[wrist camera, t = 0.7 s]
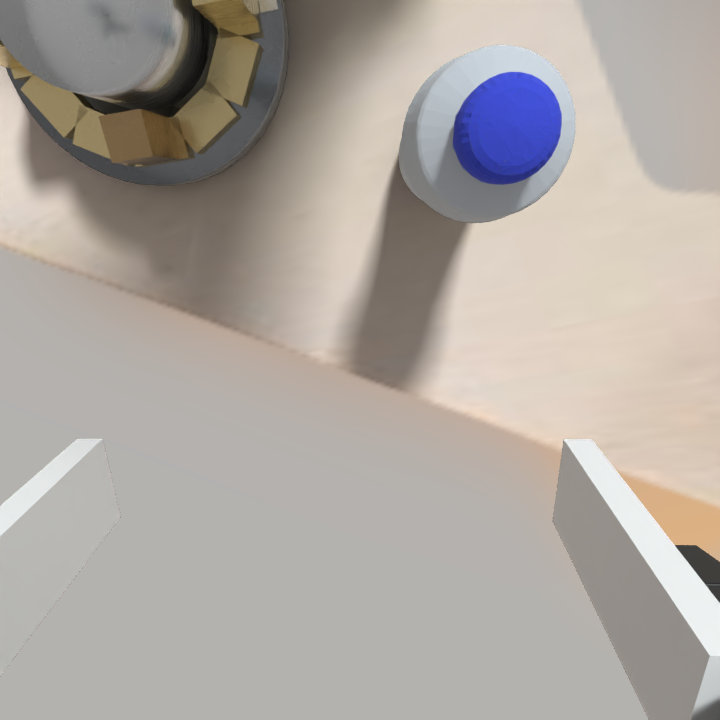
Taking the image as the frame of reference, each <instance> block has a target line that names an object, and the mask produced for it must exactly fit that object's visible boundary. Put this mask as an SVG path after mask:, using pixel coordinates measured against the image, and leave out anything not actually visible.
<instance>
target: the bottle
mask: <svg viewBox="0 0 720 720" xmlns="http://www.w3.org/2000/svg"><path fill="white" fill-rule="evenodd" d="M574 137H575V110H574V105H573V100H572V96H571V94H570V92H569V89H568V87H567V84H566V82H565V81H564V79H563V78H562V76H561V75H560V73H559V72H558V71H557V70H556V68H555V67H554V66H553V65H552V64H551V63H550V62H549V61H547V60H546V59H545V58H543V57H541V56H540V55H538V54H536V53H534V52H533V51H530V50H528V49H526V48H521V47H516V46H511V45H495V46H489V47H483V48H480V49H478V50H475V51H472V52H470V53H467V54H466V55H463V56H461V57H458V58H456V59H454V60H452V61H450V62H448V63H447V64H445V65H443V66H442V67H441V68H439V69H438V70H437V71H435V72H434V73H433V74H432V75H431V76H430V77H429V78H428V79H427V80H426V81H425V82H424V84H423V85H422V86H421V88H420V89H419V91H418V92H417V94H416V95H415V97H414V99H413V101H412V103H411V105H410V107H409V109H408V112H407V115H406V118H405V122H404V127H403V133H402V139H401V142H400V148H399V166H400V171H401V174H402V177H403V179H404V181H405V183H406V184H407V186H408V187H409V189H410V190H411V191H412V192H413V193H414V194H415V195H416V196H417V197H418V198H419V199H421V200H422V201H424V202H425V203H426V204H427V205H428V206H429V207H430V208H432V209H433V210H434V211H436V212H438V213H439V214H441V215H443V216H445V217H447V218H450V219H453V220H456V221H460V222H467V223H483V222H490V221H494V220H497V219H501V218H503V217H505V216H508V215H510V214H513V213H516V212H519V211H521V210H523V209H524V208H526V207H528V206H530V205H531V204H533V203H535V202H536V201H537V200H539V199H540V198H541V197H542V196H543V195H544V194H546V193H547V192H548V191H549V189H550V188H551V187H552V186H553V185H554V184H555V182H556V181H557V180H558V178H559V177H560V175H561V173H562V171H563V170H564V168H565V166H566V164H567V162H568V160H569V158H570V154H571V151H572V147H573V142H574Z"/></svg>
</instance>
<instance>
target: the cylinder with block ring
mask: <svg viewBox="0 0 720 720" xmlns="http://www.w3.org/2000/svg"><path fill="white" fill-rule="evenodd" d="M192 4H193V6H194V7H195V8H196V9H197V10H198V11H199V12H200V13H201V14H202V15H203V16H204V17H205V18H207V19H208V20H209V21H210V22H211V23H212V24H213V25H214V26H215V27H216V28H217V29H218V37H217V41H216V45H215V49H214V53H213V57H212V61H211V65H210V69H209V73H208V77H207V81H206V84H205V85H204V86H203V87H202V88H201V89H200V90H199V91H198V92H197V93H196V94H195V95H194V96H193V97H192V98H191V99H190V100H189V101H188V102H187V103H186V104H185V105H184V106H183V107H182V108H181V109H180V110H179V111H178V113H177V114H176V115H175V116H174V117H170V118H169V117H166V116H163V115H159V114H156V113H153V112H150V111H146V110H143V109H135V110H130V111H124V112H119V113H113V114H106V113H103V112H101V111H98V110H96V109H95V108H94V107H93V106H92V105H91V104H90V103H89V101H88V100H87V99H86V98H85V97H84V96H83V95H82V94H78V93H75V92H71V91H68V90H65V89H62V88H59V87H56V86H53V85H51V84H49V83H47V82H45V81H43V80H41V79H40V78H38V77H37V76H35V75H34V74H32V73H31V72H30V71H28V70H27V69H26V68H25V67H24V66H22V65H21V64H20V63H19V62H18V61H17V60H16V59H15V58H14V57H13V56H12V54H11V53H10V52H9V51H8V49H7V48H6V47H5V46H4V44H3V43H2V41H1V40H0V66H3V67H6V68H10V69H11V71H12V74H13V77H14V79H16V80H20V81H23V82H26V83H25V84H24V85H23V87H22V88H21V91H22V92H23V93H24V94H25V95H26V96H27V97H28V98H29V99H30V101H31V102H32V103H33V104H34V105H35V106H36V107H37V108H38V109H39V111H40V112H41V113H42V114H43V115H44V116H45V117H46V118H47V119H48V121H49V122H50V123H51V124H52V125H53V126H54V127H55V128H56V129H57V131H58V132H59V133H60V134H61V135H62V136H63V137H64V138H69V139H73V144H74V145H77V146H79V147H82V148H84V149H87V150H89V151H91V152H94V153H96V154H99V155H101V156H104V157H106V158H109V159H111V161H112V163H120V164H124V165H126V166H136V167H148V166H154V165H160V164H166V163H171V162H177V161H183V160H189V159H195V156H194V152H193V150H194V151H195V152H196V153H197V154H204V153H205V152H206V151H207V150H208V149H209V148H210V147H211V146H212V145H213V144H214V143H215V142H217V141H218V140H219V139H220V138H221V137H222V136H223V135H224V134H225V133H226V132H227V131H228V130H229V129H230V128H231V127H232V126H233V125H234V124H235V123H236V122H237V121H238V120H239V119H241V118H242V117H241V115H240V114H239V113H238V112H237V110H236V109H235V108H234V106H233V105H232V104H231V103H230V102H232V103H235V104H237V105H240V106H242V107H244V108H247V107H248V103H249V99H250V96H251V92H252V89H253V85H254V82H255V78H256V74H257V71H258V67H259V64H260V60H261V57H262V53H263V48H262V47H261V45H260V44H258V43H256V42H254V41H251V40H253V39H259V38H264V34H263V29H262V24H261V18H260V13H259V7H258V2H257V0H192Z"/></svg>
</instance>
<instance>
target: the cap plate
mask: <svg viewBox="0 0 720 720" xmlns="http://www.w3.org/2000/svg"><path fill="white" fill-rule="evenodd" d="M257 2H258V7H259V13H260V18H261V24H262V29H263V34H264V38H259V39H253V40H251V41H254V42H256V43H258V44H260V45H261V47H262V48H263V53H262V57H261V60H260V64H259V67H258V71H257V74H256V78H255V82H254V85H253V89H252V92H251V96H250V99H249V103H248V107H247V108H244V107H242V106H240V105H237V104H235V103H232V102H230V103H231V104H232V105H233V106H234V108H235V109H236V110H237V112H238V113H239V114H240V115H241V117H242V118H241V119H239V120H238V121H237V122H236V123H235V124H234V125H233V126H232V127H231V128H230V129H229V130H228V131H227V132H226V133H225V134H224V135H223V136H222V137H221V138H220V139H219V140H218V141H217V142H215V143H214V144H213V145H212V146H211V147H210V148H209V149H208V150H207V151H206V152H205V153H204V154H197V153H196V152H195V151H194V150H193V152H194V156H195V159H189V160H183V161H177V162H171V163H166V164H160V165H154V166H148V167H136V166H126V165H124V164H120V163H112V161H111V159H109V158H106V157H104V156H101V155H99V154H96V153H94V152H91V151H89V150H87V149H84V148H82V147H79V146H77V145H74V144H73V139H69V138H64V137H63V136H62V135H61V134H60V133H59V132H58V131H57V129H56V128H55V127H54V126H53V125H52V124H51V123H50V122H49V121H48V119H47V118H46V117H45V116H44V115H43V114H42V113H41V112H40V111H39V109H38V108H37V107H36V106H35V105H34V104H33V103H32V102H31V101H30V99H29V98H28V97H27V96H26V95H25V94H24V93H23V92H22V91H21V88H22V87H23V85H24V84H25V83H26V82H23V81H20V80H16V79H14V77H13V74H12V71H11V69H10V68H6V69H7V72H8V75H9V77H10V79H11V81H12V83H13V85H14V87H15V89H16V90H17V92H18V94H19V96H20V98H21V99H22V101H23V102H24V104H25V105H26V107H27V108H28V110H29V112H30V113H31V114H32V116H33V117H34V118H35V119H36V121H37V122H38V123H39V124H40V126H41V127H42V128H43V129H44V130H45V131H46V132H47V133H48V134H49V135H50V136H51V137H52V138H53V139H54V140H55V141H56V142H57V143H58V144H59V145H60V146H61V147H62V148H64V149H65V150H66V151H67V152H69V153H70V154H71V155H72V156H74V157H75V158H77V159H78V160H80V161H81V162H83V163H85V164H86V165H88V166H89V167H91V168H93V169H95V170H97V171H99V172H102V173H104V174H106V175H108V176H111V177H114V178H117V179H120V180H123V181H127V182H133V183H138V184H146V185H177V184H187V183H192V182H196V181H200V180H204V179H206V178H209V177H211V176H214V175H216V174H218V173H220V172H222V171H223V170H225V169H227V168H229V167H230V166H232V165H233V164H234V163H236V162H237V161H238V160H239V159H241V158H242V157H243V156H244V155H246V153H247V152H248V151H249V150H250V149H251V148H252V147H253V146H254V145H255V144H256V143H257V141H258V140H259V139H260V137H261V136H262V134H263V133H264V131H265V130H266V129H267V127H268V125H269V123H270V121H271V119H272V117H273V115H274V113H275V111H276V109H277V106H278V103H279V101H280V98H281V95H282V92H283V87H284V83H285V79H286V74H287V65H288V56H289V32H288V23H287V15H286V9H285V5H284V0H257ZM217 37H218V29H217V28H216V27H215V26H214V25H213V24H212V23H211V22H210V21H209V20H208V19H207V18H205V17H204V16H203V15H202V14H201V13H200V12H199V11H198V10H197V9H196V8H195V7H194V6H193V4H192V0H0V40H1V41H2V43H3V44H4V46H5V47H6V48H7V49H8V51H9V52H10V53H11V54H12V56H13V57H14V58H15V59H16V60H17V61H18V62H19V63H20V64H21V65H22V66H24V67H25V68H26V69H27V70H28V71H30V72H31V73H32V74H34V75H35V76H37V77H38V78H40V79H41V80H43V81H45V82H47V83H49V84H51V85H53V86H56V87H59V88H62V89H65V90H68V91H71V92H75V93H78V94H82V95H83V96H84V97H85V98H86V99H87V100H88V101H89V103H90V104H91V105H92V106H93V107H94V108H95V109H96V110H98V111H101V112H103V113H106V114H113V113H119V112H124V111H130V110H135V109H143V110H146V111H150V112H153V113H156V114H159V115H163V116H166V117H169V118H170V117H174V116H175V115H176V114H177V113H178V111H179V110H180V109H181V108H182V107H183V106H184V105H185V104H186V103H187V102H188V101H189V100H190V99H191V98H192V97H193V96H194V95H195V94H196V93H197V92H198V91H199V90H200V89H201V88H202V87H203V86H204V85H205V84H206V81H207V77H208V73H209V69H210V65H211V61H212V57H213V53H214V49H215V45H216V41H217Z"/></svg>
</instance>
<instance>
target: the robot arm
mask: <svg viewBox="0 0 720 720" xmlns="http://www.w3.org/2000/svg"><path fill="white" fill-rule="evenodd" d="M120 518H121V516H120V512H119V507H118V503H117V498H116V494H115V490H114V485H113V481H112V477H111V472H110V468H109V464H108V459H107V456H106V451H105V447H104V442H103V439H76V440H75V441H74V442H73V443H71V444H70V445H69V446H68V447H67V448H66V449H65V450H64V451H62V452H61V453H60V454H59V455H58V456H57V457H55V458H54V459H53V460H52V461H51V462H50V463H48V464H47V465H46V466H45V467H44V468H43V469H42V470H41V471H39V472H38V473H37V474H36V475H35V476H34V477H33V478H31V479H30V480H29V481H28V482H27V483H26V484H24V485H23V486H22V487H21V488H20V489H19V490H18V491H16V492H15V493H14V494H13V495H12V496H11V497H10V498H8V499H7V500H6V501H5V502H4V503H3V504H2V505H0V676H1V675H2V673H3V672H4V671H5V669H6V668H7V667H8V665H9V664H10V663H11V661H12V660H13V659H14V657H15V656H16V655H17V653H18V652H19V650H20V649H21V648H22V647H23V645H24V644H25V643H26V642H27V640H28V639H29V637H30V636H31V635H32V634H33V632H34V631H35V630H36V628H37V627H38V626H39V624H40V623H41V622H42V620H43V619H44V618H45V616H46V615H47V614H48V612H49V611H50V610H51V609H52V607H53V606H54V605H55V603H56V602H57V601H58V599H59V598H60V597H61V595H62V594H63V593H64V591H65V590H66V589H67V587H68V586H69V585H70V583H71V582H72V581H73V580H74V578H75V577H76V575H77V574H78V573H79V572H80V570H81V569H82V567H83V566H84V565H85V563H86V562H87V561H88V560H89V558H90V557H91V556H92V554H93V553H94V551H96V549H97V548H98V547H99V545H100V544H101V543H102V541H103V540H104V538H105V537H106V536H107V535H108V533H109V532H110V531H111V529H112V528H113V527H114V525H115V524H116V523H117V521H118V520H119V519H120ZM553 523H554V525H555V527H556V529H557V531H558V533H559V536H560V538H561V540H562V542H563V544H564V546H565V548H566V550H567V552H568V554H569V556H570V558H571V560H572V562H573V564H574V566H575V568H576V571H577V573H578V575H579V577H580V579H581V581H582V583H583V585H584V587H585V589H586V591H587V593H588V595H589V597H590V599H591V601H592V604H593V606H594V608H595V610H596V612H597V614H598V616H599V618H600V620H601V622H602V624H603V626H604V628H605V630H606V632H607V634H608V637H609V639H610V641H611V642H612V645H613V646H614V649H615V651H616V653H617V655H618V657H619V659H620V661H621V663H622V665H623V667H624V669H625V672H626V674H627V675H628V678H629V680H630V682H631V684H632V686H633V688H634V690H635V692H636V694H637V696H638V698H639V700H640V702H641V704H642V706H643V708H644V711H645V712H646V715H647V717H648V719H649V720H720V562H719V561H718V560H716V559H715V558H713V557H712V556H710V555H709V554H708V553H706V552H705V551H703V550H702V549H700V548H699V547H698V546H695V545H691V546H690V545H674V544H673V543H672V541H671V540H670V539H669V538H668V536H667V535H666V534H665V532H664V531H663V530H662V529H661V527H660V526H659V525H658V523H657V522H656V521H655V520H654V518H653V517H652V516H651V514H650V513H649V512H648V511H647V509H646V508H645V507H644V506H643V504H642V503H641V502H640V501H639V499H638V498H637V497H636V495H635V494H634V493H633V492H632V490H631V489H630V488H629V486H628V485H627V484H626V482H625V481H624V480H623V479H622V477H621V476H620V475H619V473H618V472H617V471H616V470H615V468H614V467H613V466H612V465H611V463H610V462H609V461H608V459H607V458H606V457H605V456H604V454H603V453H602V452H601V450H600V449H599V448H598V447H597V445H596V444H595V443H594V441H593V440H592V439H564V440H563V448H562V455H561V463H560V470H559V477H558V484H557V492H556V499H555V506H554V513H553Z"/></svg>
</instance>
